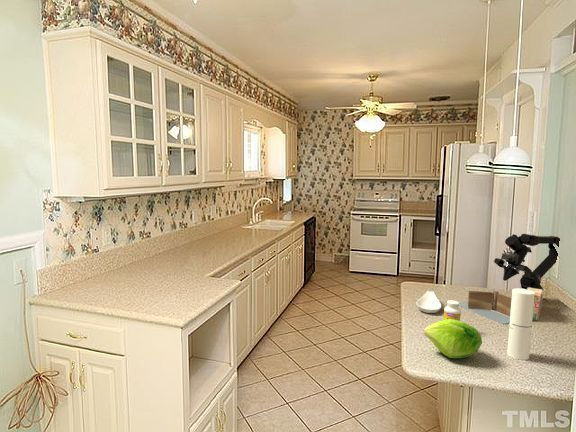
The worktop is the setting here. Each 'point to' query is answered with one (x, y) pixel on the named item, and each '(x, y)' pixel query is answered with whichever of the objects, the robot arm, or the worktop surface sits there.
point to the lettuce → (454, 338)
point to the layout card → (488, 314)
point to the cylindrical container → (520, 323)
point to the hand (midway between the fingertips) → (504, 280)
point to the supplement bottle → (452, 310)
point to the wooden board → (480, 300)
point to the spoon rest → (429, 303)
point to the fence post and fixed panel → (501, 303)
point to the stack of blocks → (537, 302)
